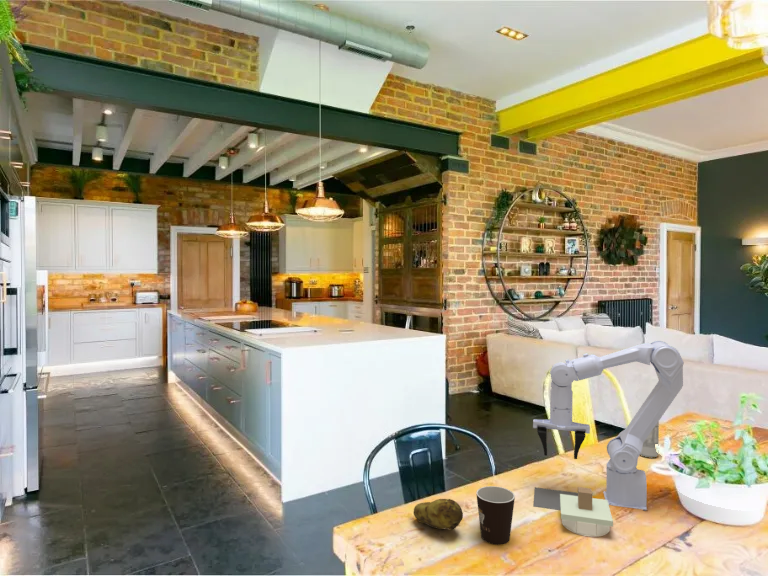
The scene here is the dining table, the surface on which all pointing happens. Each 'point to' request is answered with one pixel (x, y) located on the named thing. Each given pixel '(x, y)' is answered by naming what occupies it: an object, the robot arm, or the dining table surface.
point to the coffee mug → (495, 513)
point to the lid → (585, 508)
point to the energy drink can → (651, 443)
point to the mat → (549, 498)
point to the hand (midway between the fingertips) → (560, 456)
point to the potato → (439, 513)
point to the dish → (586, 528)
